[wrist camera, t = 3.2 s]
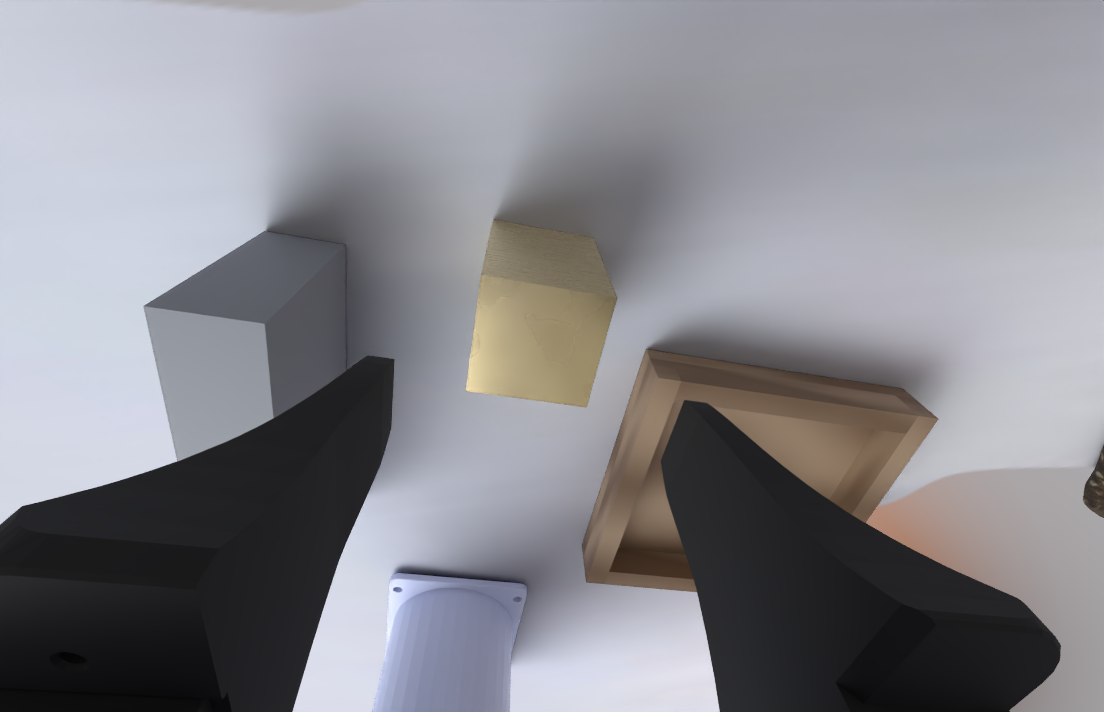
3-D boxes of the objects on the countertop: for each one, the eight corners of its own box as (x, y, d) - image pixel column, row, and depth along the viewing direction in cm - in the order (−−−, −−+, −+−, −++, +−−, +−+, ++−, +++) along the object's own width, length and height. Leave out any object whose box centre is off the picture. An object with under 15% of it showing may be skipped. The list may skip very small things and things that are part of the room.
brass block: (572, 326, 22) (586, 407, 17) (480, 312, 21) (465, 391, 16) (593, 237, 20) (617, 297, 15) (493, 219, 19) (481, 274, 14)
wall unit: (346, 502, 26) (293, 631, 20) (280, 495, 26) (205, 625, 20) (345, 244, 20) (264, 323, 14) (256, 229, 19) (130, 304, 13)
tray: (790, 565, 30) (809, 602, 28) (581, 545, 29) (586, 582, 27) (903, 388, 24) (938, 418, 22) (645, 349, 23) (658, 377, 20)
